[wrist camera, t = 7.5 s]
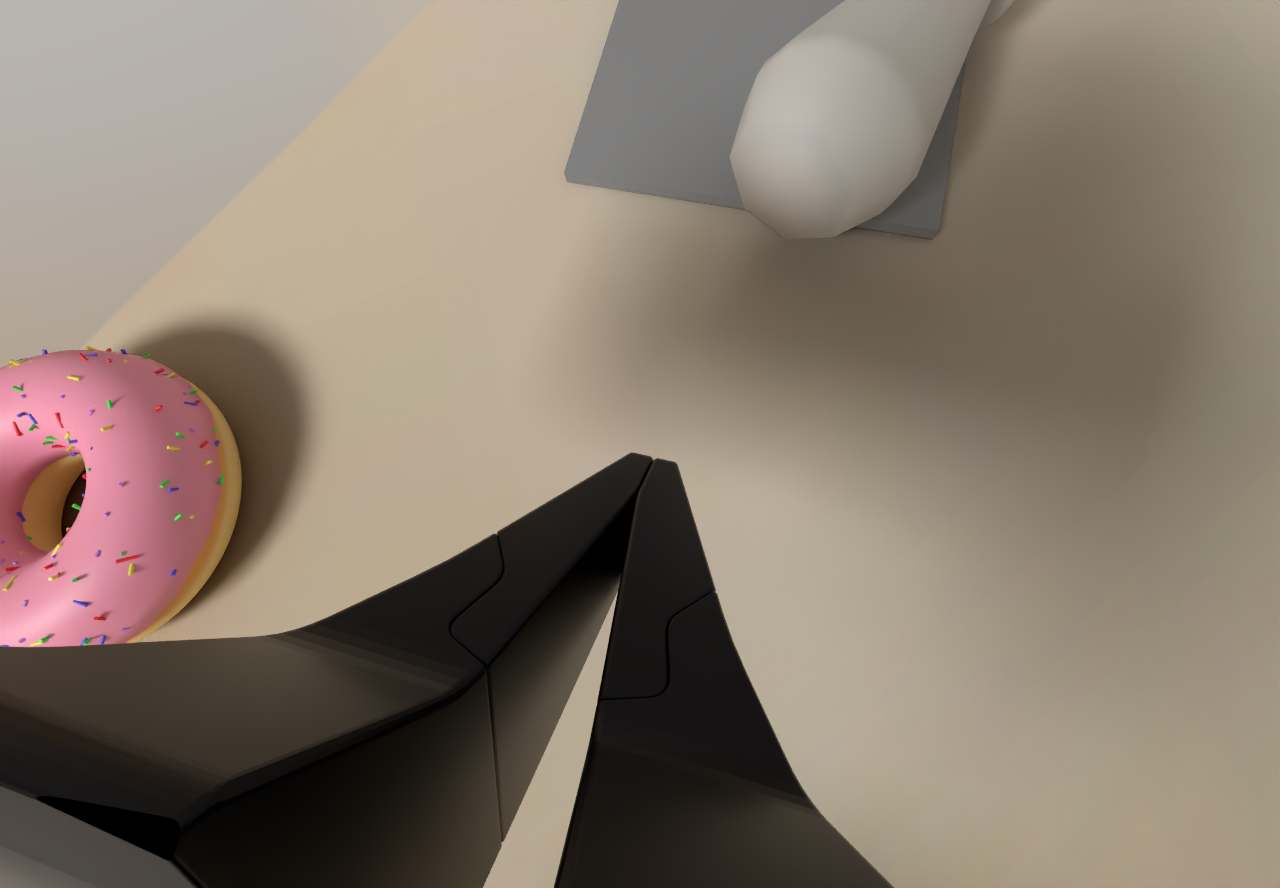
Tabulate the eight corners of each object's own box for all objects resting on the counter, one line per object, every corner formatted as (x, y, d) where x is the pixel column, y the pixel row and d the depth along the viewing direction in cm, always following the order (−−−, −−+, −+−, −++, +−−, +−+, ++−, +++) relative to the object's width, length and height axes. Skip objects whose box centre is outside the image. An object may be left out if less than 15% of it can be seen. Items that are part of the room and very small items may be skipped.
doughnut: (-55, 552, 20) (-248, 550, 16) (137, 324, 21) (7, 268, 17) (128, 728, 18) (-40, 779, 14) (327, 461, 19) (230, 435, 15)
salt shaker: (842, 290, 18) (1015, 54, 20) (920, 151, 12) (1144, -149, 15) (702, 211, 19) (881, -2, 21) (715, 53, 13) (954, -208, 16)
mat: (932, 239, 18) (939, 230, 18) (567, 181, 20) (564, 172, 20) (990, -130, 22) (997, -145, 21) (671, -149, 24) (671, -164, 23)
